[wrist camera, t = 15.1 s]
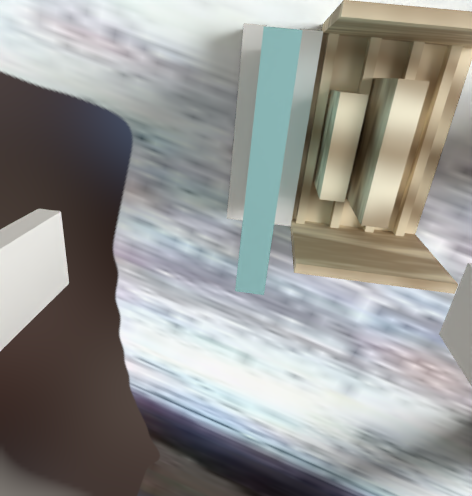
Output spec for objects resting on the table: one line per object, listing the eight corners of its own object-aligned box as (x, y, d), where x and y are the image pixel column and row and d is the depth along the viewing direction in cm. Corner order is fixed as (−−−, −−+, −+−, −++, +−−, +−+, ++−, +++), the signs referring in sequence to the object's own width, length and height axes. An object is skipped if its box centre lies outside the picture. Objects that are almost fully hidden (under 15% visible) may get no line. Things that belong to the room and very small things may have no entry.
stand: (289, 214, 47) (290, 226, 44) (230, 207, 48) (226, 218, 44) (319, 35, 39) (323, 30, 35) (246, 28, 39) (243, 23, 36)
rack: (408, 237, 47) (454, 293, 35) (289, 222, 48) (294, 272, 36) (472, 38, 37) (565, 20, 25) (322, 24, 38) (343, 0, 26)
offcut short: (334, 183, 44) (344, 202, 37) (313, 181, 44) (319, 199, 37) (354, 91, 39) (369, 94, 33) (330, 89, 39) (340, 91, 33)
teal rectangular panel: (269, 199, 46) (263, 294, 26) (253, 197, 46) (235, 291, 26) (290, 53, 39) (302, 30, 19) (271, 51, 39) (263, 26, 19)
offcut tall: (367, 200, 44) (387, 228, 36) (345, 197, 44) (361, 225, 36) (397, 80, 38) (429, 81, 30) (373, 77, 39) (398, 78, 30)
